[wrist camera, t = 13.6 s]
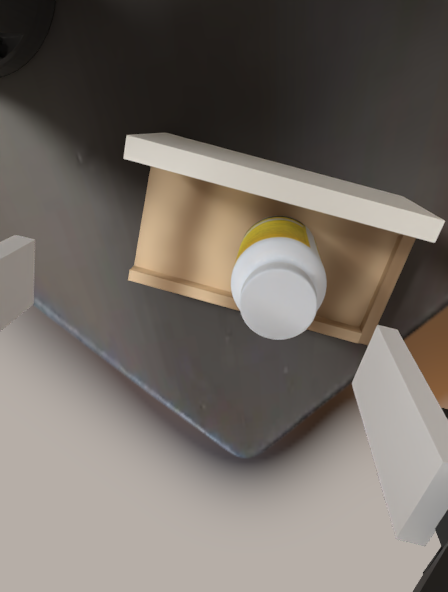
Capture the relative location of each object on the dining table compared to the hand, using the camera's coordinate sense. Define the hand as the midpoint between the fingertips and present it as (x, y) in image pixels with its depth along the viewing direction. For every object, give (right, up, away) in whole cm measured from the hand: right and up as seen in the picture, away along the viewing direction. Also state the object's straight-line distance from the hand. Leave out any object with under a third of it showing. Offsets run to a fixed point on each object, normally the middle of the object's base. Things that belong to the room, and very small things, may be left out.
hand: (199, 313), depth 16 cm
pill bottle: (+6, +5, +20) cm, 21 cm away
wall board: (+6, +11, +20) cm, 24 cm away
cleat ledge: (+4, +6, +23) cm, 24 cm away
